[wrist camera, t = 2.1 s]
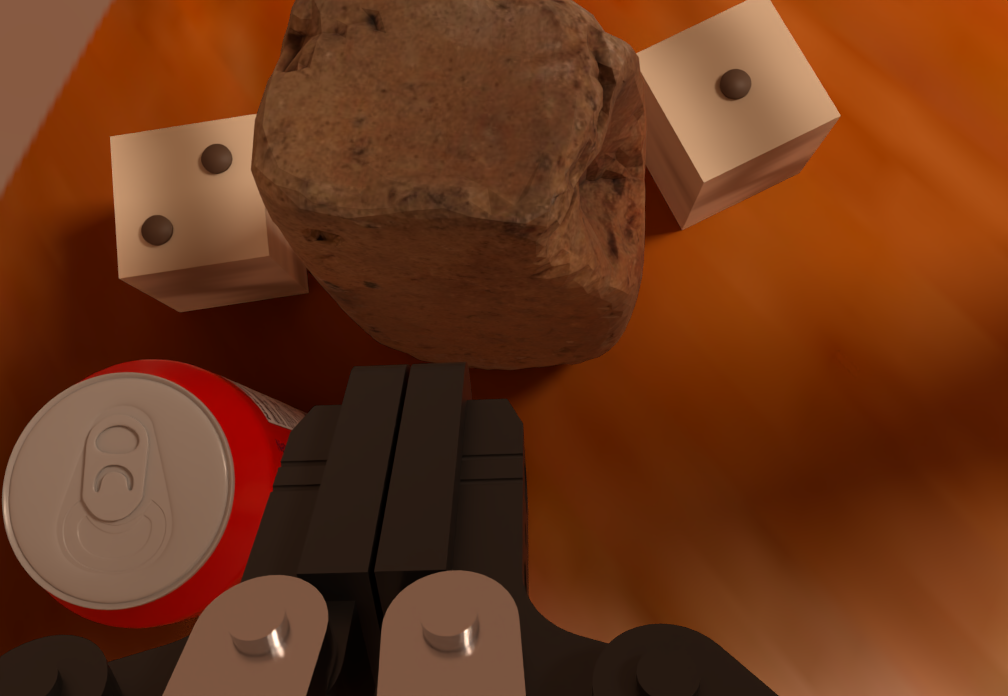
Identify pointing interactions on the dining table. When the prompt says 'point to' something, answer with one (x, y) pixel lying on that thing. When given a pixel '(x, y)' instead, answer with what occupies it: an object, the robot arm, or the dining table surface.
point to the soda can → (143, 490)
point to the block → (461, 174)
